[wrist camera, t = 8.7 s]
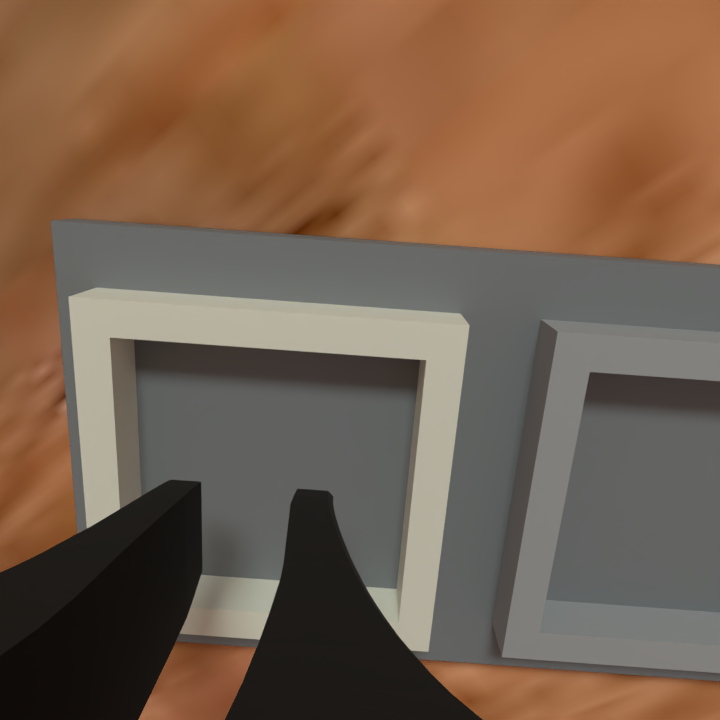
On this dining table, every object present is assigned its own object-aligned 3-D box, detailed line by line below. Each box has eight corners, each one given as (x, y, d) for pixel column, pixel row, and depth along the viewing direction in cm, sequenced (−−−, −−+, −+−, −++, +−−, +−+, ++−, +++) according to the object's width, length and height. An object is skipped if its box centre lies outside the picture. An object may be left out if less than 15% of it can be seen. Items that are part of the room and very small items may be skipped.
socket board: (792, 659, 16) (855, 728, 14) (102, 608, 16) (62, 670, 14) (926, 279, 13) (1032, 295, 11) (74, 218, 13) (16, 223, 11)
